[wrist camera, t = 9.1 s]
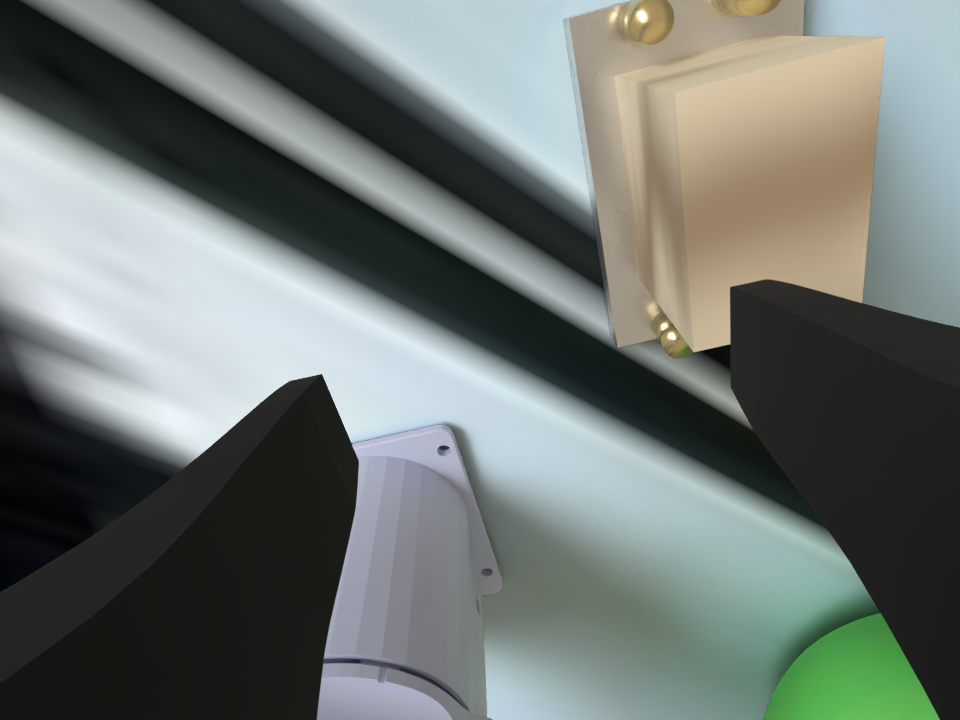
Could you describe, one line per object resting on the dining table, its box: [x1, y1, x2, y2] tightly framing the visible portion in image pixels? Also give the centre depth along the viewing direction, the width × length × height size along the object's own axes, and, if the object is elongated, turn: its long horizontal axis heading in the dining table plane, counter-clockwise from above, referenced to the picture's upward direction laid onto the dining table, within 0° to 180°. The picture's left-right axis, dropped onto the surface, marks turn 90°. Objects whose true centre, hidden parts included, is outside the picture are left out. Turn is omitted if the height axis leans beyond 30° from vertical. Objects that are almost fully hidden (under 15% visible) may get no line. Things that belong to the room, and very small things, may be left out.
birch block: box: [615, 36, 885, 352], centre depth 15 cm, size 6×4×5 cm, turn 14°
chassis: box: [563, 0, 804, 358], centre depth 17 cm, size 10×6×2 cm, turn 14°
